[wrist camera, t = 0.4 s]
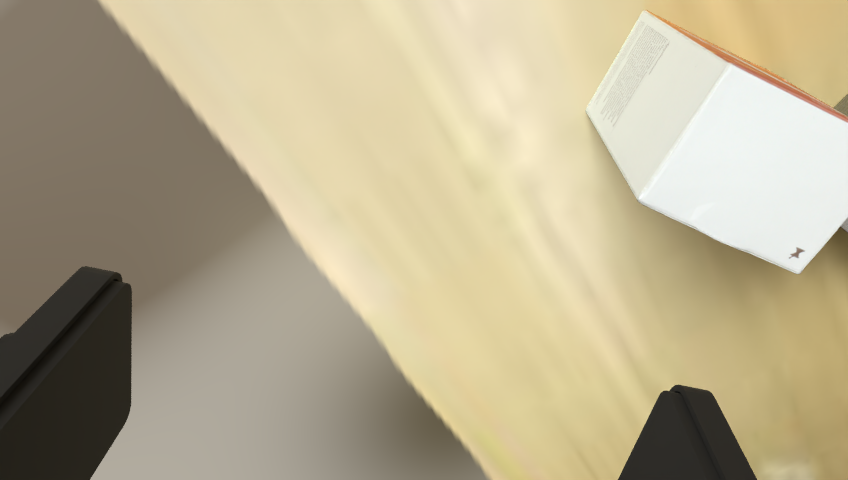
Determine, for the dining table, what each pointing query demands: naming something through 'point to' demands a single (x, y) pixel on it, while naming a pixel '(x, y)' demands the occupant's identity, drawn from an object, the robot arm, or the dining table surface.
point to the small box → (723, 144)
